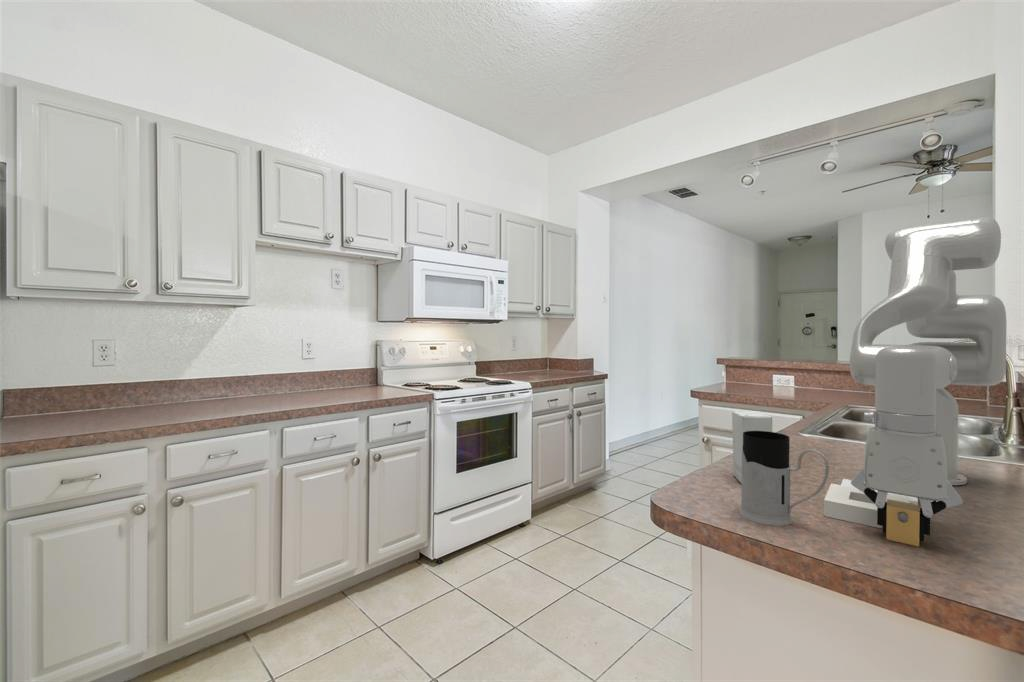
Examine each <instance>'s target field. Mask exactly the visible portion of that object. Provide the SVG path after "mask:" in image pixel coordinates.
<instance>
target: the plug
mask: <svg viewBox="0 0 1024 682" xmlns="http://www.w3.org/2000/svg"><path fill="white" fill-rule="evenodd" d="M919 522H920V506H919V504H918V505H917V504H912V503H906V502H901V501H895V500H890V499H887V524H886V533H885V535H886V536H885V540H888V541H891V542H892V541H893V542H897V543H902V544H906V545H910V546H915V547H920V540H919Z"/></svg>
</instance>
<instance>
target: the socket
mask: <svg viewBox="0 0 1024 682" xmlns="http://www.w3.org/2000/svg"><path fill="white" fill-rule="evenodd" d="M876 492H877V491H876ZM887 499H890V500H895V501H901V502H906V503H910V502H909V497H906V496H900V495H894V494H887V498H886V502H887ZM823 516H824V517H827V518H832V519H836V520H841V521H845V522H850V523H855V524H859V525H864V526H868V527H874V528H877V529H883V526H881V525H877V506H876V505H875V503H874V502H873V501H871V500H870V499H869V498H868V497H867V496H866V495H865V493H863V492H862V491H860V490H858V489H857V488H854V487H849V486H843V485H841V484H838V483H837V484H836V483H832V482H831V483H830V486H829V488H828V490H827V492H826V495H825V497H824V499H823Z"/></svg>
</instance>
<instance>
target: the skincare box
mask: <svg viewBox="0 0 1024 682" xmlns="http://www.w3.org/2000/svg"><path fill="white" fill-rule="evenodd" d="M731 422H732V423H731V424H732V427H731V428H732V459H733V461H732V465H733V470H732V471H733V472H732V473H733V475H734V476H735V477H736V479H737V481H738V482H739V483H740V484H741V485H742V446H743V432H746V431H767V432H773V416H771V415H768V414H766V413H764V412H761V411H735V410H734V411H731ZM734 476H733V477H734ZM735 477H734V478H735Z"/></svg>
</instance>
